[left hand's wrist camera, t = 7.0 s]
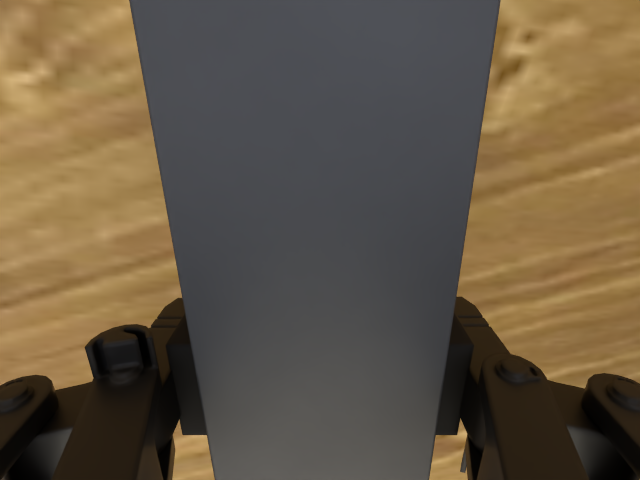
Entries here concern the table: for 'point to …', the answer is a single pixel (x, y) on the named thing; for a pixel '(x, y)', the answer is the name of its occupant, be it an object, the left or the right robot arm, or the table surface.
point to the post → (318, 218)
